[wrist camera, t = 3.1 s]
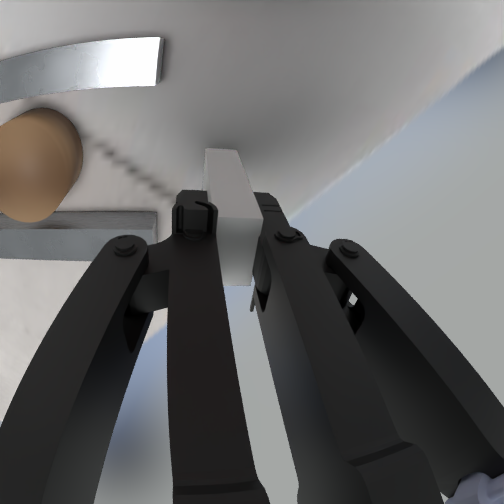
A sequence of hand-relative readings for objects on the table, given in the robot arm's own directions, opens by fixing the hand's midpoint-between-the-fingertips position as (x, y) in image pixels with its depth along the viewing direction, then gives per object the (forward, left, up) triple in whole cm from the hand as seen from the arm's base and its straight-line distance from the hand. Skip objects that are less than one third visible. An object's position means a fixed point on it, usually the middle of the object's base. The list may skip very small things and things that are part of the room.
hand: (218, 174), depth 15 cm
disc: (0, -11, -3) cm, 11 cm away
